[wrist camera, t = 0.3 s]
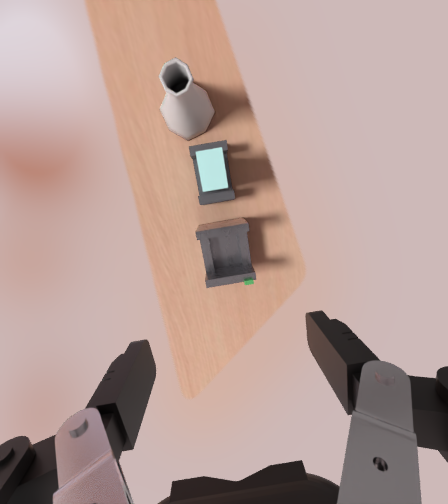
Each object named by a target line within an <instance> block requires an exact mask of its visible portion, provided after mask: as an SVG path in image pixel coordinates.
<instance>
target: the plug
mask: <svg viewBox="0 0 448 504" xmlns="http://www.w3.org/2000/svg"><path fill="white" fill-rule="evenodd" d="M196 157H197V164H198V169H199V175H200V180H201V186H202V190H203V192H208V191H214V190H220V189H226V188H228V183H227V175H226V169H225V162H224V156H223V151H222V147H220V148H214V149H208V150H203V151H197V152H196Z"/></svg>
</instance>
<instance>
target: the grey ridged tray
mask: <svg viewBox="0 0 448 504" xmlns="http://www.w3.org/2000/svg"><path fill="white" fill-rule="evenodd" d="M220 147H222V151H223V156H224V162H225V169H226V175H227V183H228V188H226V189H220V190H214V191H208V192H203V190H202V186H201V180H200V175H199V169H198V164H197V157H196V152H197V151H203V150H208V149H214V148H220ZM189 150H190V156H191V158H192V159H193V163H194V169H195V174H196V179H197V185H198V190H199V195H200V196H198V198H199V203H200V205H205V204H211V203H217V202H223V201H228V200H234V199H235V194H234V190H232V185H231V178H230V171H229V165H228V158H227V151H228V147H227V141H226V140H224V141H218V142H212V143H206V144H201V145H195V146H189Z"/></svg>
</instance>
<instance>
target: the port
mask: <svg viewBox="0 0 448 504" xmlns="http://www.w3.org/2000/svg"><path fill="white" fill-rule="evenodd" d="M247 231H249V224H248V222H247V221H246V220H245V219H244V218H238V219H232V220H226V221H220V222H214V223H208V224H203V225H199V226H198V228H197V230H196V237H197V240H200V243H201V248H202V253H203V258H204V263H205V268H206V279H205V282H206V287H207V288H209V287H215V286H221V285H227V284H233V283H239V282H244V283H245V285H249V284H254V282H253V280H256V274H255V271H254V269H253V267H252V265H251V258H250V251H249V244H248V237H247Z"/></svg>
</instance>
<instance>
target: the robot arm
mask: <svg viewBox="0 0 448 504" xmlns="http://www.w3.org/2000/svg"><path fill="white" fill-rule="evenodd" d="M306 327H307V340H308V345H309V348H310V351H311V353H312V355H313V356H314V358H315V359H316V361H317V363H318V365H319V366H320V368H321V370H322V371H323V373H324V375H325V376H326V378H327V380H328V382H329V384H330V385H331V387H332V388H333V390H334V392H335V394H336V395H337V397H338V399H339V400H340V402H341V404H342V406H343V407H344V409H345V411H346V413H347V414H348V415H352V417H351V423H350V429H349V435H348V441H347V447H346V453H345V459H344V465H343V471H342V477H341V483H340V486H338V485H336V484H335V483H333V482H331V481H329V480H327V479H325V478H322V477H320V476H317V475H313V474H308V473H306V472H305V468H304V465H303V462H302V460H301V461H294V462H289V463H282V464H276V465H270V466H268V467H266V468H264V469H262V470H260V471H258V472H256V473H254V474H252V475H251V476H248V477H246V478H245V479H243V480H240V481H230V480H224V479H218V478H211V477H205V476H203V477H197V478H191V479H184V480H178V481H173V482H172V487H171V494H170V496H169V497H167V498H165V499H164V500H162V501H161V502H160V503H158V504H421V491H420V478H419V464H418V450H417V446H418V447H423V448H429V449H435V450H438V451H439V452H440V454H441V455H442V456H443V457H444V459H445V460H446V461H447V462H448V366H447V367H443V368H440V369H439V370H438V371H437V376H436V378H427V377H415V376H409V375H407V374H406V373H405V372H404V371H403V370H402V369H401V368H399V367H397V366H395V365H394V364H391V363H388V362H385V361H380V360H379V359H378V358H377V357H376V355H375V354H374V353H372V351H371V350H370V349H369V348H368V347H367V346H366V345H365V344H364V343H363V342H362V341H361V340H360V339H358V337H357V336H356V335H355V334H354V333H353V332H352V330H351V329H350V328H349V327H348V326H347V325H346V324H344V323H342V322H340V321H339V320H337V319H331V320H330V319H329V318H328V317H327V316H326V314H325V313H324V312H323V311H315V312H309V313H306ZM155 377H156V365H155V361H154V358H153V355H152V352H151V348H150V345H149V342H148V341H147V340H140V341H134V342H131V343H130V344H129V346H128V348H127V350H126V351H125V353H124V354H121V355H120V356H118V357H117V358H116V359H115V360H114V361H113V362H112V363H111V365H110V367H109V369H108V370H107V373H106V374H105V375H104V377H103V379H102V381H101V382H100V384H99V386H98V388H97V389H96V391H95V393H94V394H93V396H92V398H91V399H90V401H89V403H88V404H87V406H86V408H85V409H83V410H81V411H79V412H77V413H75V414H74V415H73V416H71V417H70V418H68V419H67V420H66V421H65V422H64V423H63V425H62V426H61V427H60V428H59V430H58V432H57V434H56V435H54V436H52V437H49V438H47V439H45V440H42V441H40V442H38V443H36V444H33V445H32V444H31V442H30V440H29V438H28V437H26V436H19V437H15V438H13V439H10V440H8V441H6V442H5V443H3V444H2V445H0V504H134V503H133V500H132V497H131V494H130V491H129V488H128V486H127V482H126V480H125V477H124V474H123V471H122V468H121V465H120V463H119V459H120V456H121V453H122V451H127V450H132V449H134V445H135V442H136V439H137V436H138V432H139V429H140V426H141V423H142V420H143V416H144V413H145V410H146V407H147V404H148V400H149V397H150V394H151V390H152V387H153V384H154V381H155Z"/></svg>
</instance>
